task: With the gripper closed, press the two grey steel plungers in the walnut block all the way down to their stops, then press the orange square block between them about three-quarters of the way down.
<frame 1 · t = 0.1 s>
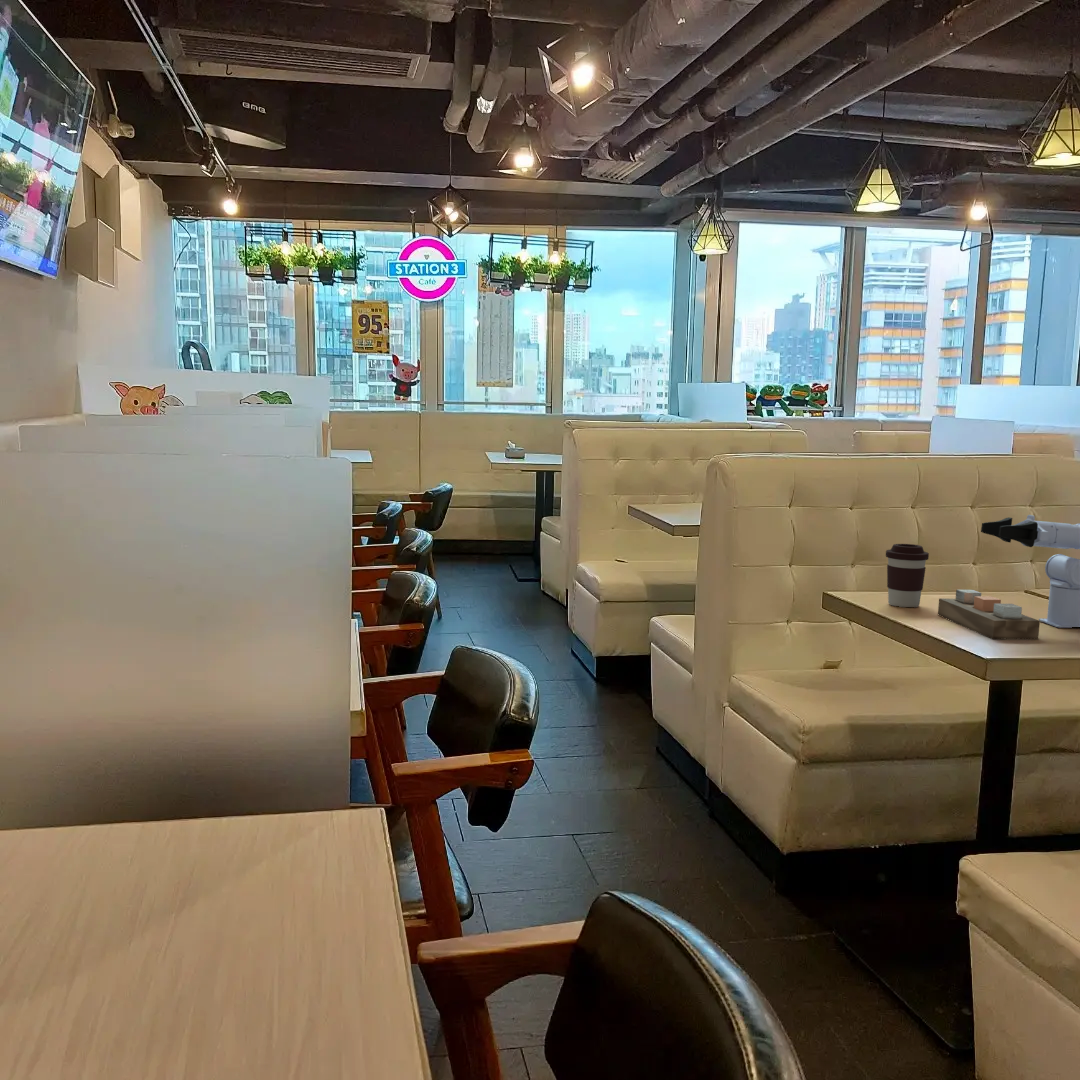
hand: (990, 529, 224), 22 cm above the table, tool horizontal, fingers open, 7 cm apart
orange square block: (987, 604, 223), point 5 cm above the table, slide at 0.0 cm
steel plunger a: (968, 597, 232), point 5 cm above the table, slide at 0.0 cm
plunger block: (985, 626, 224), on the table
coffee cup: (903, 606, 248), on the table
steel plunger b: (1007, 612, 215), point 5 cm above the table, slide at 0.0 cm
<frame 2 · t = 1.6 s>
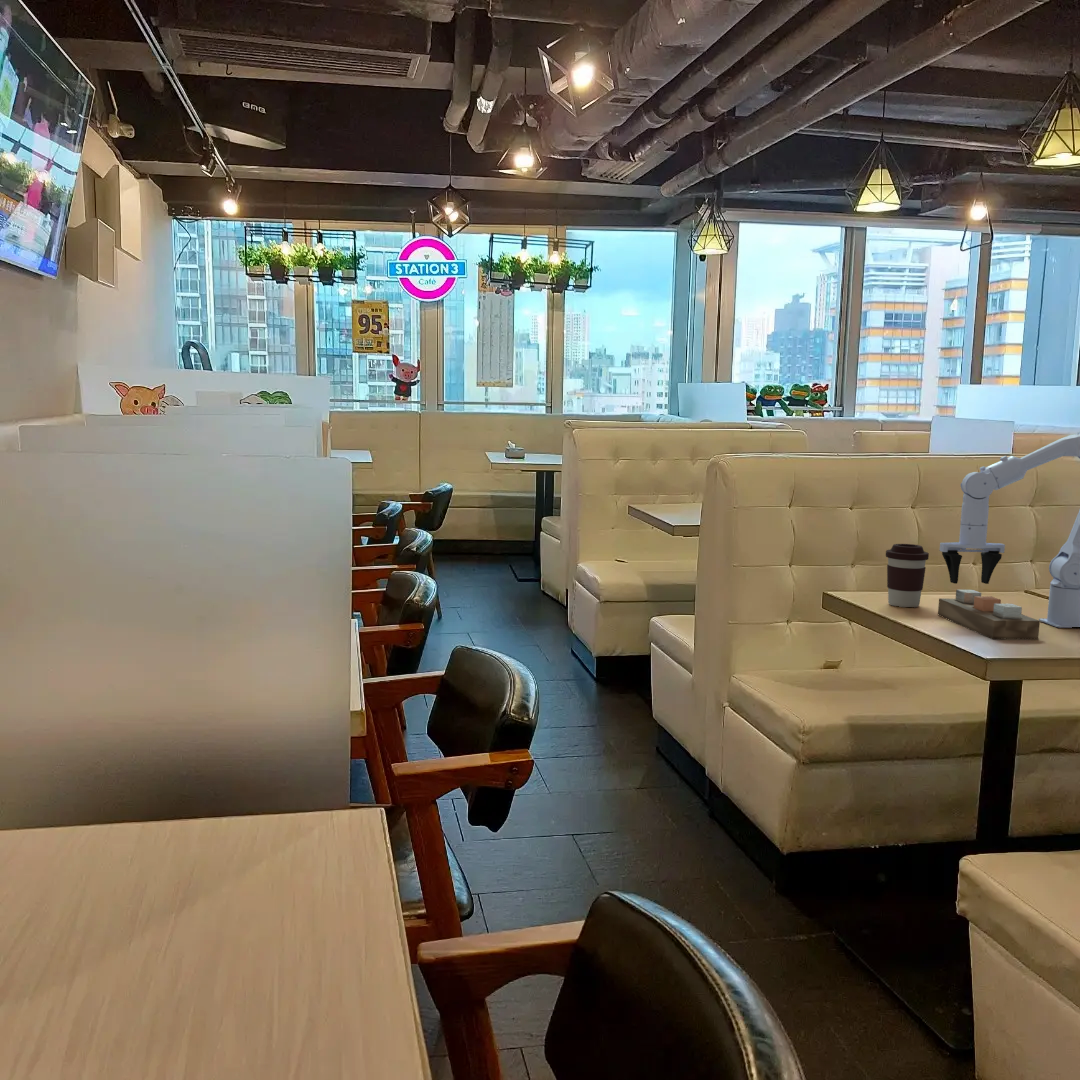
hand: (969, 583, 231), 8 cm above the table, tool pointing down, fingers open, 7 cm apart
nothing on the table moved.
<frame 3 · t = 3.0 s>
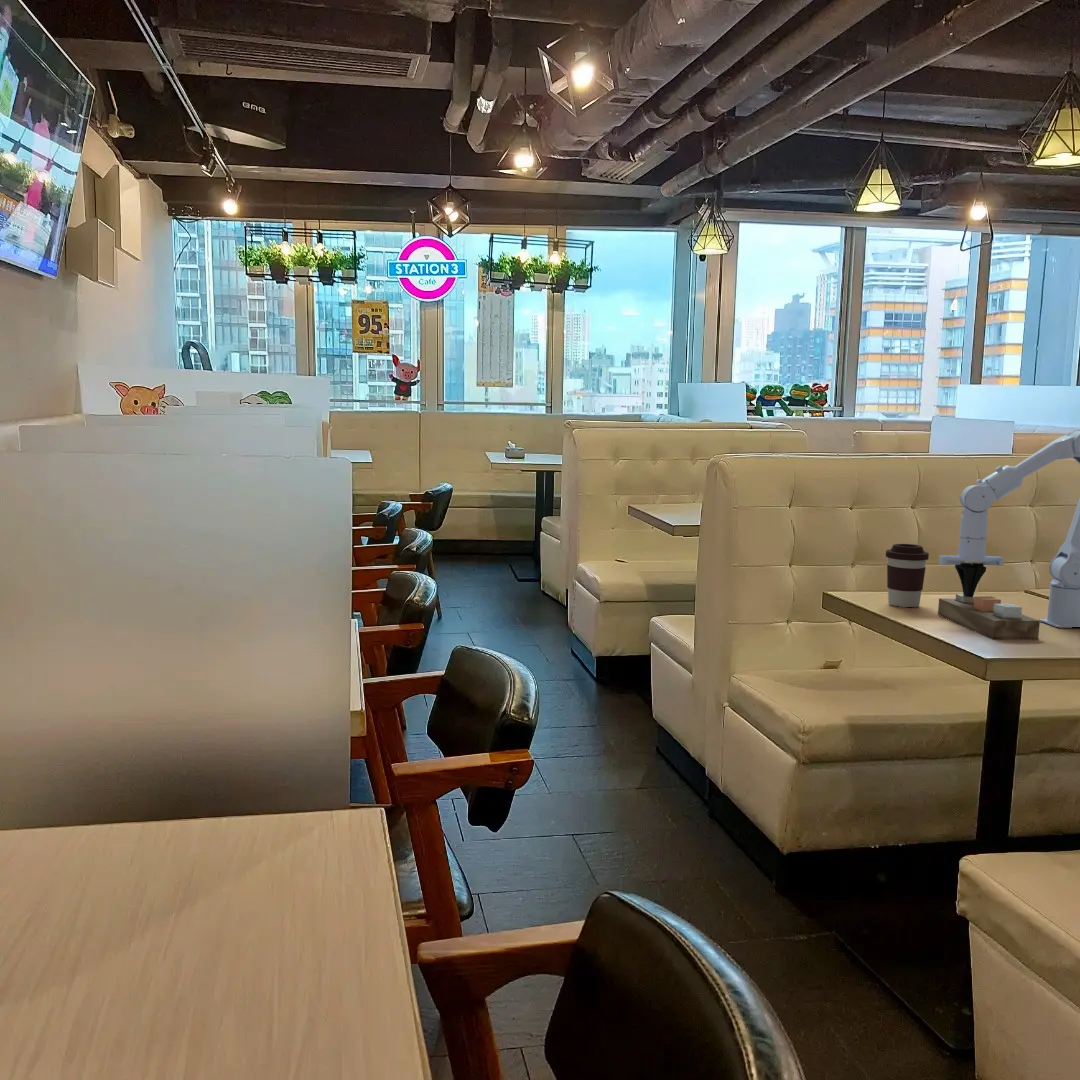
hand: (968, 595, 232), 5 cm above the table, tool pointing down, fingers closed, pressing on steel plunger a
steel plunger a: (967, 602, 232), point 4 cm above the table, slide at 1.1 cm, touching gripper
everything else where it was.
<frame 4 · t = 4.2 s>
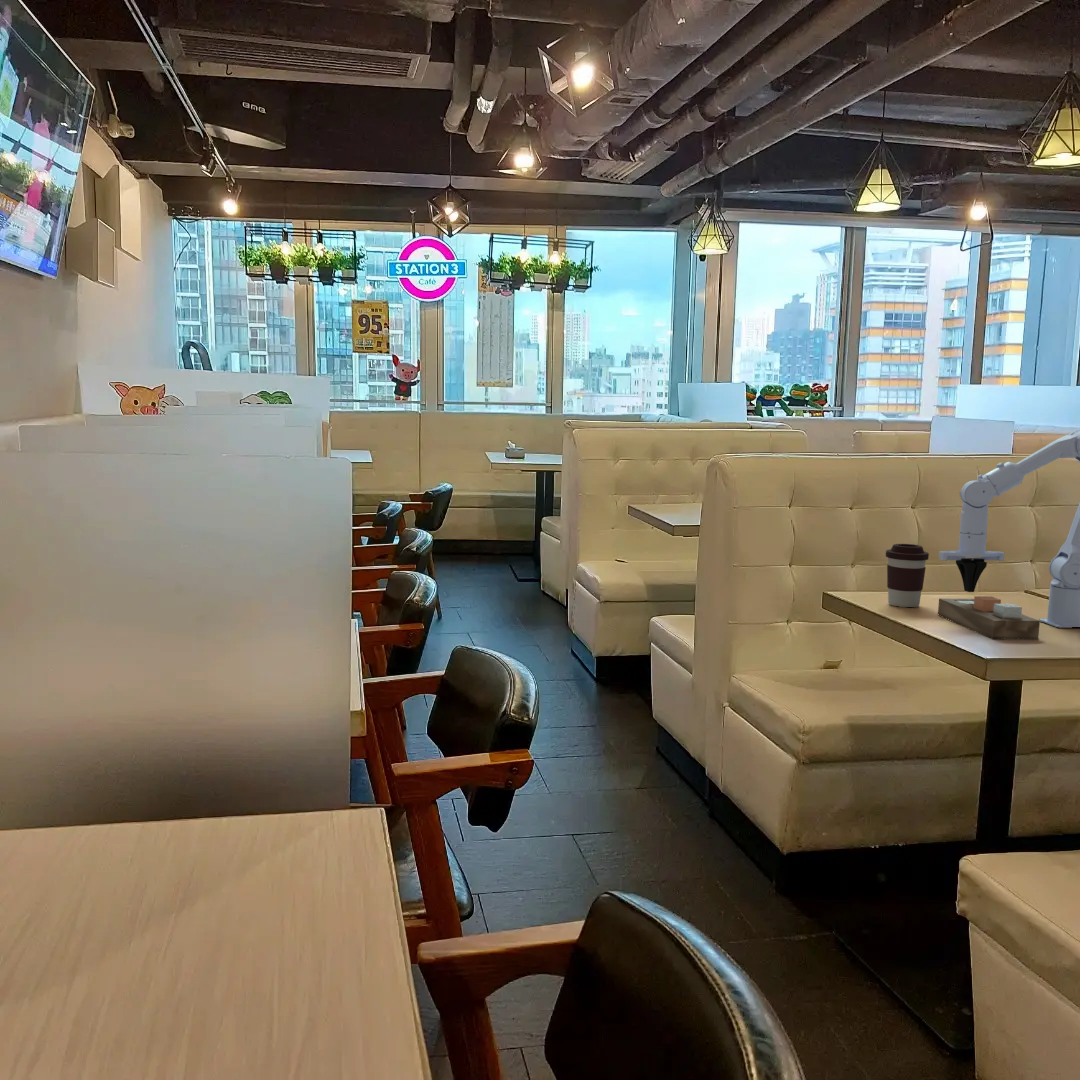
hand: (969, 591, 231), 6 cm above the table, tool pointing down, fingers closed
steel plunger a: (967, 608, 232), point 2 cm above the table, slide at 2.6 cm
everything else where it was.
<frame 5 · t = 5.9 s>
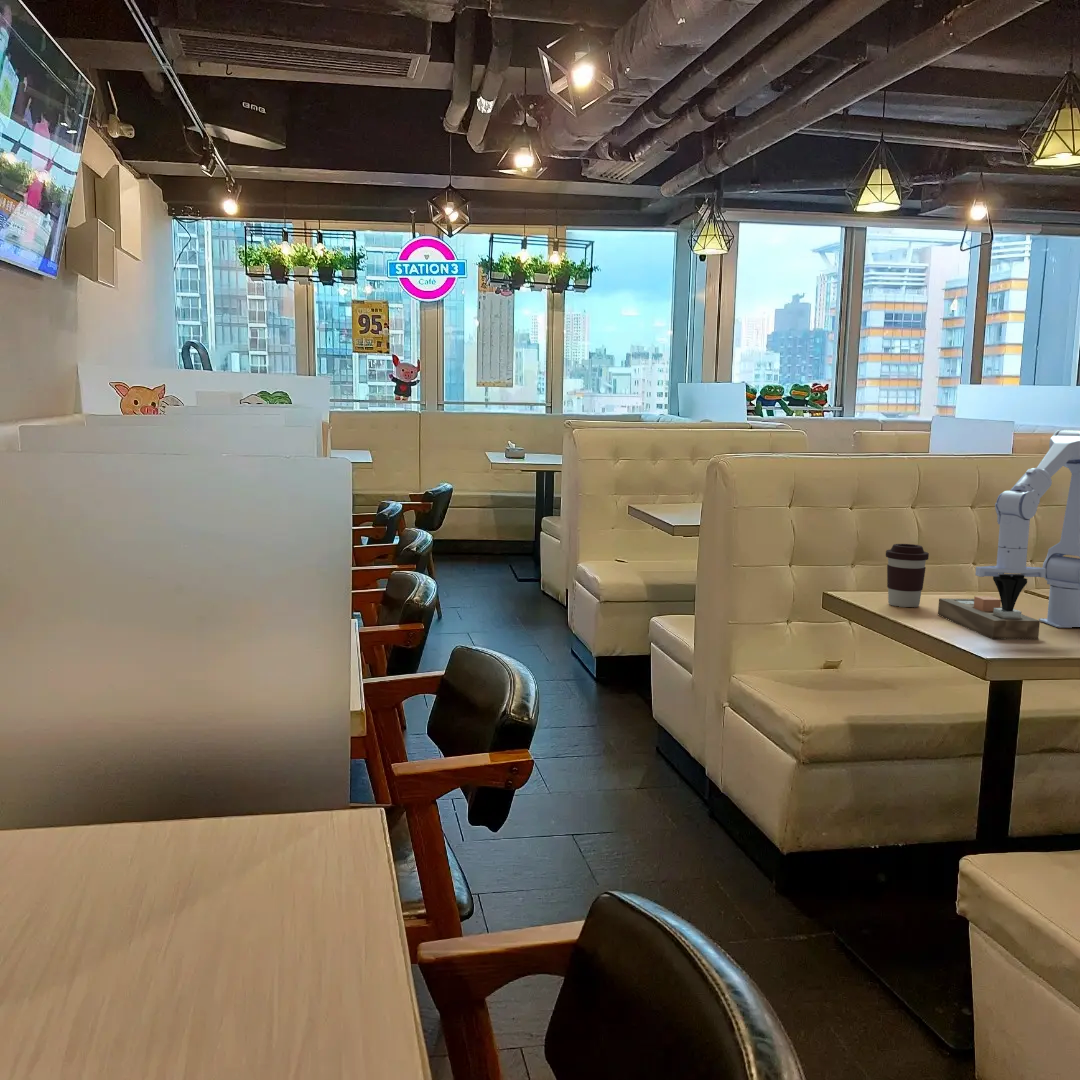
hand: (1007, 609, 215), 6 cm above the table, tool pointing down, fingers closed, pressing on steel plunger b
steel plunger b: (1006, 616, 215), point 4 cm above the table, slide at 1.0 cm, touching gripper
everything else where it was.
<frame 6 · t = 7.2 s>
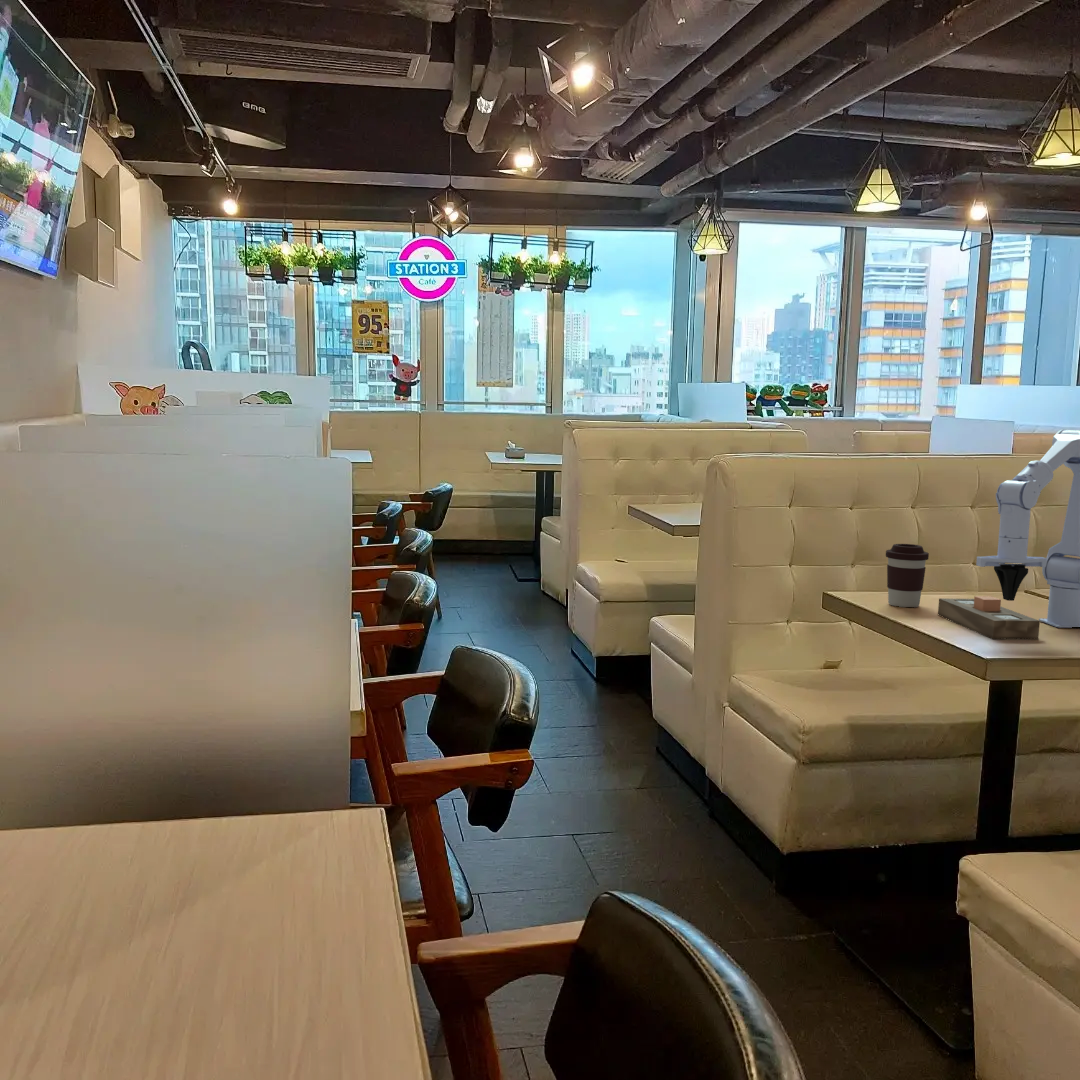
hand: (1008, 599, 214), 8 cm above the table, tool pointing down, fingers closed
steel plunger b: (1006, 624, 215), point 2 cm above the table, slide at 2.6 cm
everything else where it was.
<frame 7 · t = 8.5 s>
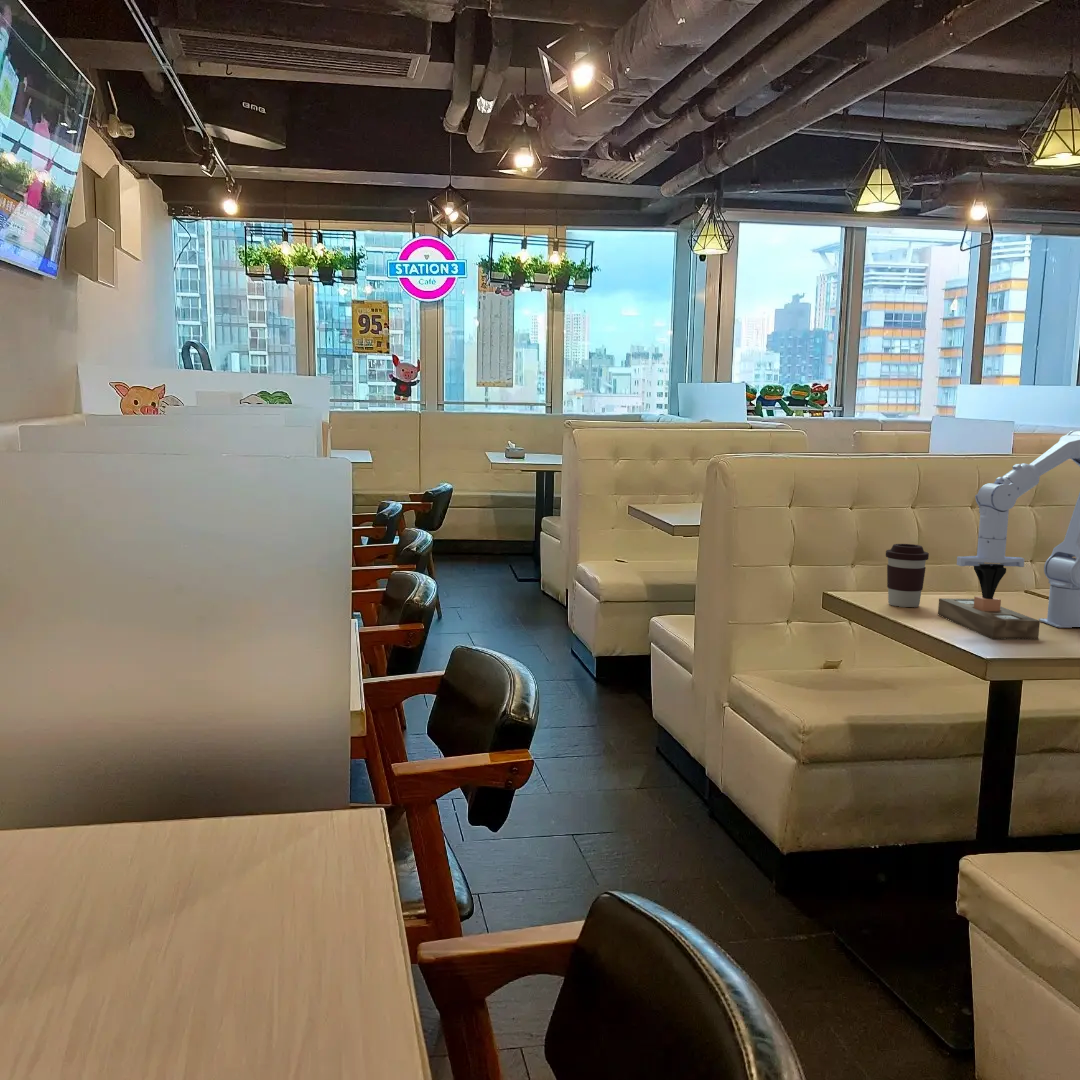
hand: (987, 598, 223), 6 cm above the table, tool pointing down, fingers closed, pressing on orange square block
orange square block: (987, 604, 223), point 5 cm above the table, slide at 0.0 cm, touching gripper
everything else where it was.
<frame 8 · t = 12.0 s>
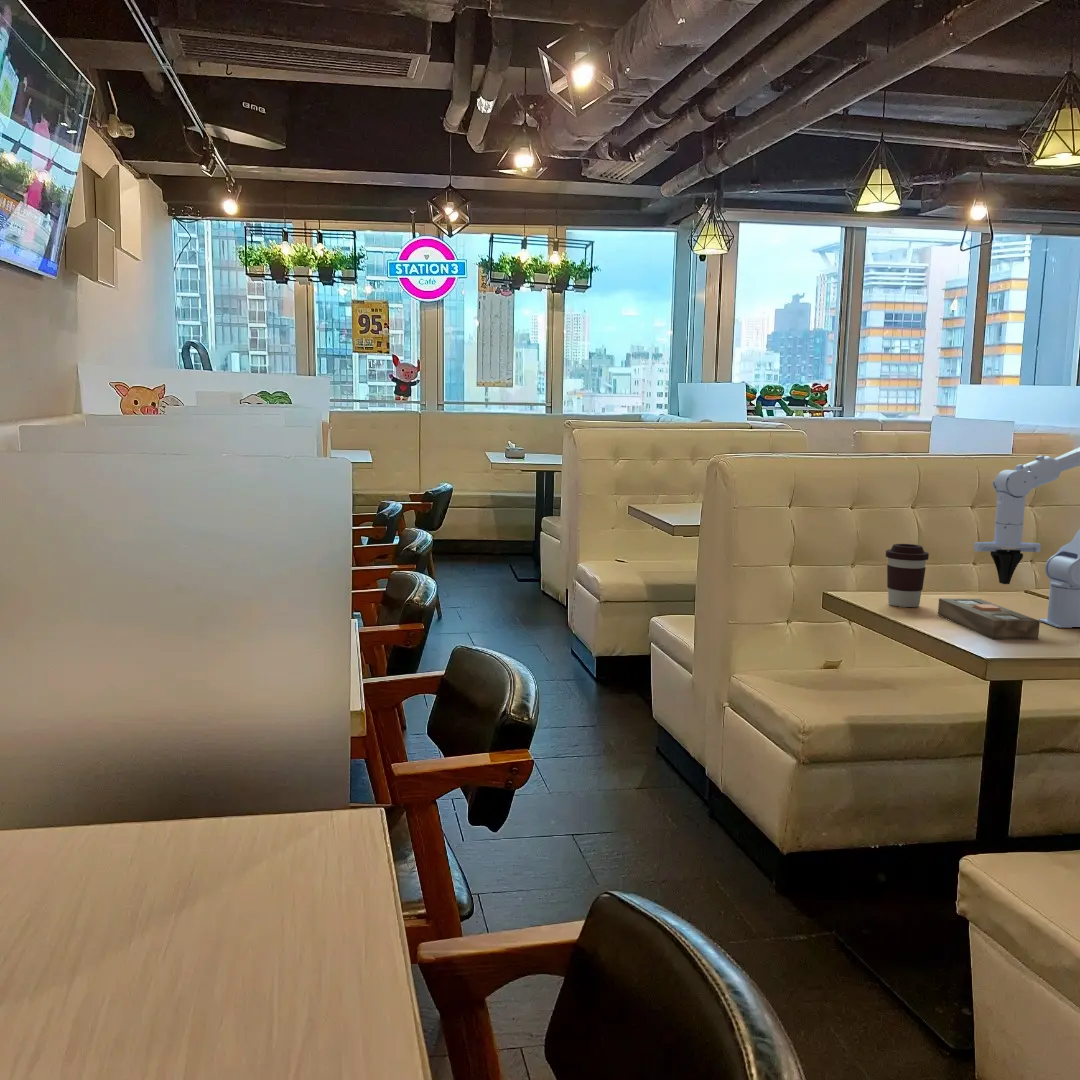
hand: (1004, 583, 225), 9 cm above the table, tool pointing down, fingers closed
orange square block: (986, 612, 223), point 3 cm above the table, slide at 1.8 cm
everything else where it was.
at the end: steel plunger a slide at 2.6 cm; steel plunger b slide at 2.6 cm; orange square block slide at 1.8 cm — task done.
